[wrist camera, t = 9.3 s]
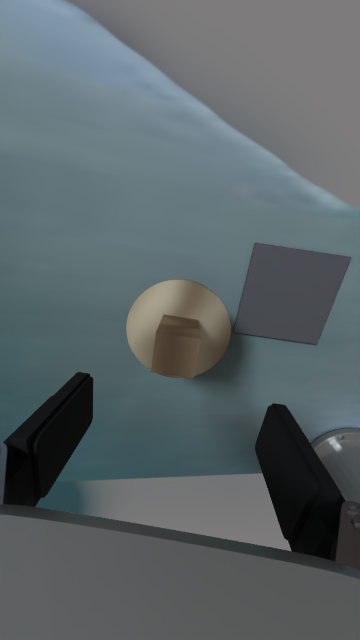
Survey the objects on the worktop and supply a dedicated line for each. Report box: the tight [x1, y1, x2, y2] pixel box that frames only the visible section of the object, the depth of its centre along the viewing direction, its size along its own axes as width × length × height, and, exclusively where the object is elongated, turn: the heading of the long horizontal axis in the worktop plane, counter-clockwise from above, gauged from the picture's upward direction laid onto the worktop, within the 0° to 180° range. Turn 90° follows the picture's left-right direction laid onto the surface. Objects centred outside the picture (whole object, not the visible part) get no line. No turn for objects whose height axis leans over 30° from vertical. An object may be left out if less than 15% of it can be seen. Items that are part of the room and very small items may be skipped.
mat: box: [233, 243, 351, 344], centre depth 26 cm, size 12×12×1 cm
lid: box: [126, 279, 231, 379], centre depth 19 cm, size 11×11×6 cm
